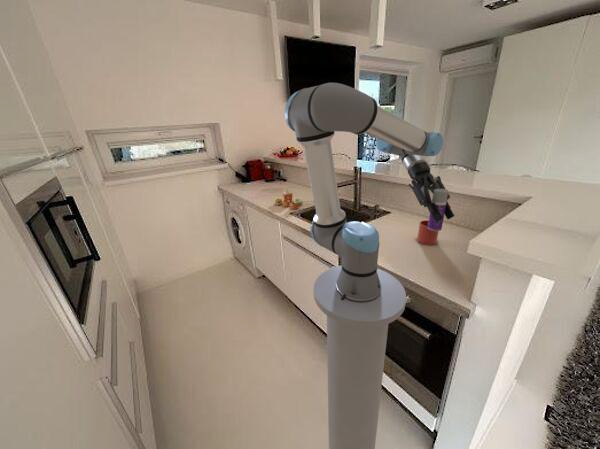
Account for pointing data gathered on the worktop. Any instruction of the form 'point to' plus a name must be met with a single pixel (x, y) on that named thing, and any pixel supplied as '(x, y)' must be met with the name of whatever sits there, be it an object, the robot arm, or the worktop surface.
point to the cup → (426, 234)
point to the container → (440, 203)
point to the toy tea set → (288, 200)
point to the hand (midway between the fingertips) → (445, 218)
